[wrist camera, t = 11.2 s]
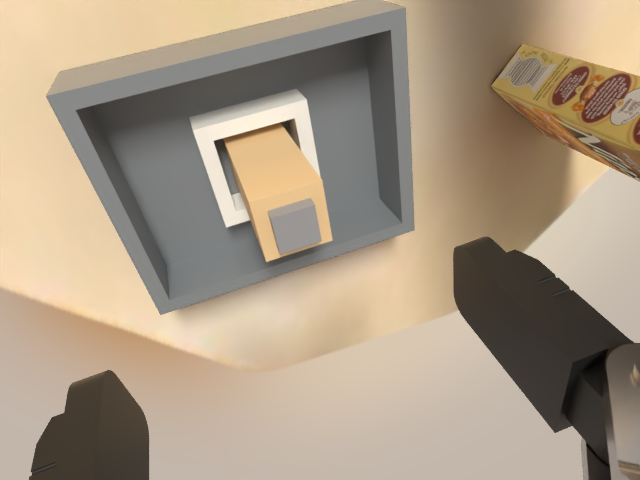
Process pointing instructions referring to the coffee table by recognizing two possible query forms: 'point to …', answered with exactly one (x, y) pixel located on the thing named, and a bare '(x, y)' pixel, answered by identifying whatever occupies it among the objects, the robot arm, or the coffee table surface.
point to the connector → (279, 191)
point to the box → (238, 117)
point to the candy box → (577, 104)
